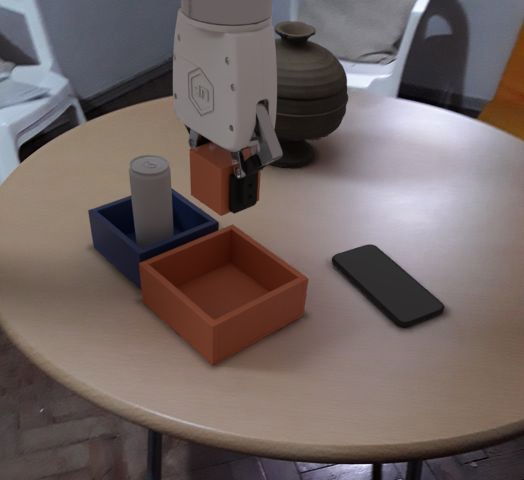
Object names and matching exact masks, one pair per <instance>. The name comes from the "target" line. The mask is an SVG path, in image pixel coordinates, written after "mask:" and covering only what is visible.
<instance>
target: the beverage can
mask: <svg viewBox="0 0 524 480" xmlns="http://www.w3.org/2000/svg"><path fill="white" fill-rule="evenodd" d="M171 173H172V172H171V167H170V163H169V160H168V159H167V158H165V157H164V156H161V155H158V154H157V155H156V154H143V155H138V156H135V157H134V158H132V159H131V160H130V161H129V167H128V176H129V186H130V196H131V197H132V207H133V216H134V225H135V233H136V243H137V245H138V246H139V247H140V248H141V249H142V248H145V247H147V246H150V245H152V244H155V243H157V242H160V241H162V240H165V239H167V238H170V237H172V236H174V231H173V211H172V190H171V188H172V174H171Z"/></svg>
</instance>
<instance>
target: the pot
mask: <svg viewBox="0 0 524 480" xmlns="http://www.w3.org/2000/svg"><path fill="white" fill-rule="evenodd" d="M316 29H317V28H316V27H315V26H313V25H311V24H307V23H305V22H302V21H296V20H295V21H294V20H293V21H291V20H288V21H287V20H286V21H280V22H278V23H276V24H275V25H274V33H275V34H276V35H278V36H279V37H280V38H279V37H277V38H275V48H276V64H277V105H276V120H275V128H274V131H275V133H276V136H277V139H278V141H279V144H280V147H281V149H282V153H283V155H282V157H281V158H279V159H277V160H275V161H273V162H271V163H269V164H268V165H270V166H274V167H278V168H285V169H286V168H287V169H294V168H295V169H296V168H300V167H305V166H306V165H308V164H310V163H312V161H314V160H315V158H316V150H315V148H314V147H313V145H312V144H311V143H310V142H308V141H319V140H321V139H322V138H326V137H327V138H328V137H329V135H331V134H332V133H334V132H335V131H336V130H338V128H339V127H340V125H341V124H342V121H343V119H344V117H345V115H346V113H347V104H348V102H349V94H348V77H347V73H346V70H345V67H344V66H343V64H342V63H341V62H340V60H339V59H338V58H337V57H336V56H335V55H334V54H333V53H332V52H331V51H330V50H329V49H328V48H326V47H325V46H322V45H321V44H318V43H316V42H314V41H311V40H309V39H310V38H311V37H312V36H315V35H316V34H317V33H316V32H317V30H316Z"/></svg>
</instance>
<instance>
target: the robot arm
mask: <svg viewBox="0 0 524 480" xmlns="http://www.w3.org/2000/svg"><path fill="white" fill-rule="evenodd" d="M180 6H181V7H180V8H178V11H177V16H176V21H175V28H174V29H175V30H174V39H173V51H172V52H173V54H172V102H173V103H172V104H173V112H174V115H175V116H176V118H177V120H178V121H180V122H181V123H182V124H183V125H184V127H185V129H186V132H187V133H188V146H189V149H192V148H195V147H198V146H201V145H204V144H207V143H210V142H214V143H216V144H217V145H219V146H221V147H222V148H224V149H226V150H228V151H231V157H232V164H233V170H234V174H232V175H230V176H229V211H231V212H230V213H232V214H237V213H239V212H243V211H245V210H247V209H249V208H252V207H254V206H256V205H257V202H258V201H257V190H258V172H260V171H261V172H262V171H263V170H264V168H265V167H267V166H268V165H270V164H269V163H271V162H273V161H275V160H277V159H279V158H281V157H282V155H283V153H282V149H281V147H280V144H279V141H278V139H277V136H276V133H275V131H274V128H275V120H276V105H277V64H276V48H275V39H276V38H275V27H274V25H273V24H272V15H273V0H180ZM247 148H249V150H250V157H249V158H248V159H246V160H245V161H244V156H243V150H244V149H247Z"/></svg>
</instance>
